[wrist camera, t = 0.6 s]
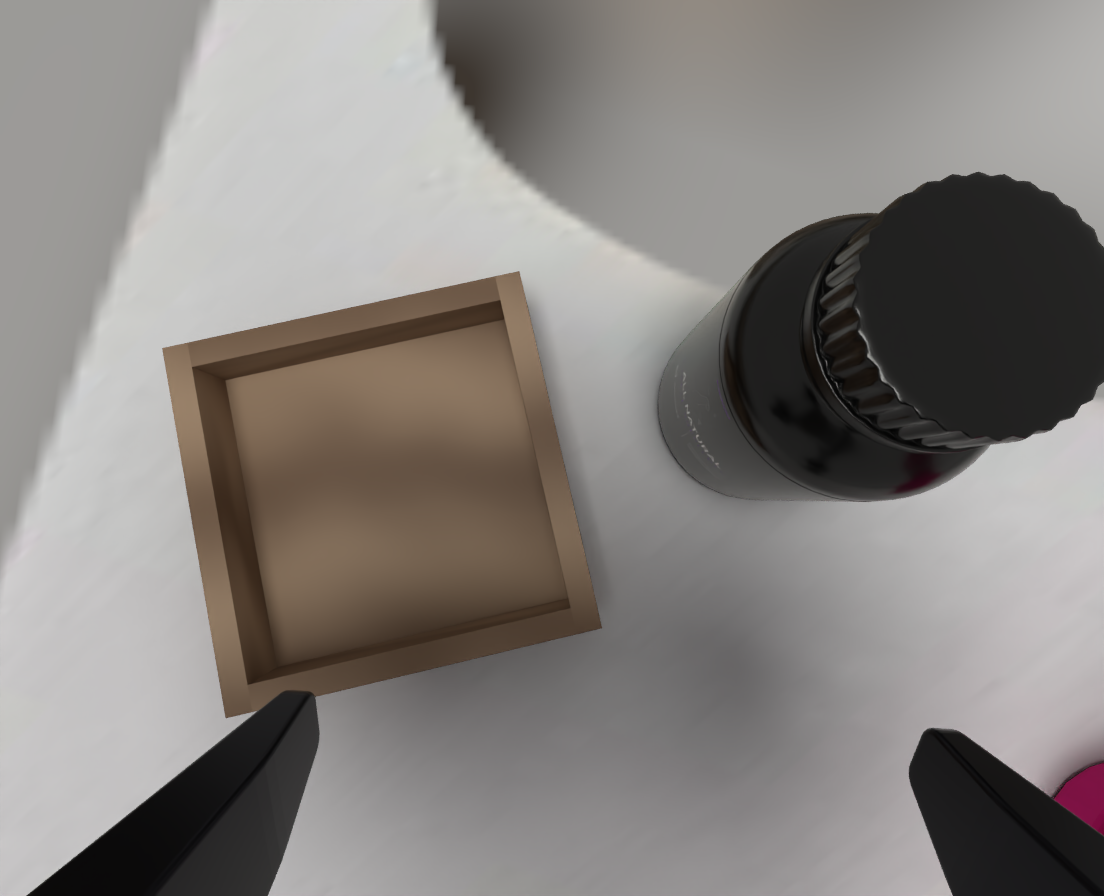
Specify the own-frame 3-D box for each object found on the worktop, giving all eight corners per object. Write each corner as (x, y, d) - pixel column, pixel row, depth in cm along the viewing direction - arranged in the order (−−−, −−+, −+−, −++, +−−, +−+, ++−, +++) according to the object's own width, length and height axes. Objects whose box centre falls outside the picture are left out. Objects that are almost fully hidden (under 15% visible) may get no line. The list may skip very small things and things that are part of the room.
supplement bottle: (617, 430, 22) (708, 339, 10) (721, 285, 22) (924, 33, 10) (772, 540, 22) (1059, 583, 10) (873, 389, 22) (1260, 252, 10)
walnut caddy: (593, 610, 21) (602, 628, 18) (271, 687, 21) (225, 718, 18) (522, 302, 22) (519, 271, 19) (214, 369, 22) (162, 348, 19)
